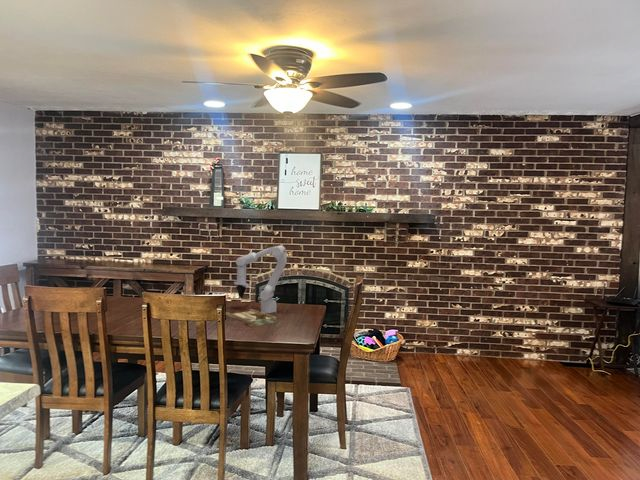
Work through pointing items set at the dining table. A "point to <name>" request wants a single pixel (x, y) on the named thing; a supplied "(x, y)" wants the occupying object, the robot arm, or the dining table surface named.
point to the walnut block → (260, 316)
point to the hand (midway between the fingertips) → (241, 297)
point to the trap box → (253, 318)
